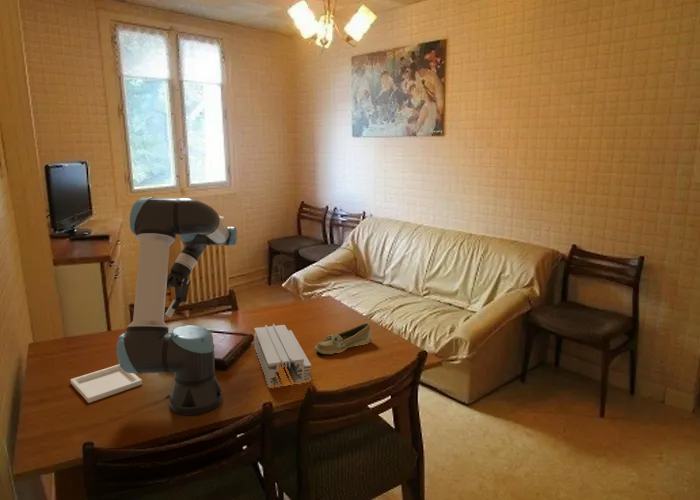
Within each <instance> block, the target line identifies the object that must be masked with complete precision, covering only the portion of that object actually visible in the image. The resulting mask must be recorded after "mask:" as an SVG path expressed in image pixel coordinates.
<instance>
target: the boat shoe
mask: <svg viewBox="0 0 700 500" xmlns="http://www.w3.org/2000/svg"><path fill="white" fill-rule="evenodd" d="M370 340H372V339H371V325H370V323H368V322H366V323H362V324H360V325H357V326H355V327H352V328H350V329H346V330H345V331H342V332H341V331H340V332H338V333H333V334H331V335H327V336H325V337H324V339H321V340H320V341H318V342H317V343H316V345H315V347H314V350H315V351H316V352H317V353H319V354H322V355H333V354H332V353H337V352H340V351H343V350H345V349H347V348H349V347H350V348H352V347H351V346H355V345H360V344H364V343H368V342H370ZM370 343H371V342H370ZM350 348H349V349H350ZM347 350H348V349H347Z"/></svg>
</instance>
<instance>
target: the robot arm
mask: <svg viewBox="0 0 700 500" xmlns="http://www.w3.org/2000/svg"><path fill="white" fill-rule="evenodd" d="M220 218H221V217H220V215H219V213H218V212H217V211H216V210H215V209H214V208H213V207H211V206H210V205H209V204H207V203H205V202H203V201H200V200H197V199H193V198H190V197H155V196H150V197H142V198H139V199H137V200H136V201H135V202H134V203H133V205H132V207H131V209H130V214H129V227H130V232H131V233H132V234H134V235H135V239H136V241H137V242H139V252H138V253H139V255H138V264H137V265H138V266H137V276H136V285H135V286H136V287H135V297H134V305H133V307H134V309H133V318H132V321H131V323H129V324H128V325H127V326H126V332H124V333H121V334H119V336H118V340H117V343H116V357H117V360H118V364H120V367H121V368H122V370H123V371H125V372H127V373H134V374H137V375H143V374H169V373H170V374H172V373H173V375H174V382H173V387H172V390H171V393H170V397H169V404H170V405H169V407H170V409H171V411H173V412H174V413H175V414H179V415H182V416H197V415H202V414H205V413H209V412H211V411H213V410H215V409H216V408H217V407H218V406H220V405H221V403H222V401H223V392H222V389H221V387H220V384H219V382H218V379H217V377H216V368H215V344H214V336H213V334H212V332H211V331H210V330H208V329H207V328H206V327H203V326H198V325H188V324H187V325H184V326H183V325H182V326H181V325H180V326H177V327H175V328H173V329H172V331H171V332H169V330H170V329H169V325H167V324H166V323H165V315H166V316H167V317H168V318H169V319H171V318H172V316H173V314H174V313H175V311H176V310H177V309H178V308H179V306H180V304H181V303H186V302H187V299H188V293H189V287H190V284H191V280H190V279H189V277H190V275H191V273H192V271H193V270H194V268H195V266H196V265H197V263H198V262H199V259H200V258H201V256H202V254H203V253H204V251H205V250H206V249H207V247H208V246H235V245H237V243H238V230H237V227H235V226H230V225H229V226H226V225H225V223H224V222H222V220H221V219H220ZM176 235H178V237H179V241H181V242H182V245H183V248H182V250H181V252H180V253H179V254H178V256H177V258H176V259H175V262H174V263H173V264H172V266H171V267H170V272H169V260H170V259H169V258H170V257H169V256H170V246H171V245H172V244H174V243H175V242H176ZM168 272H169V274H168ZM167 288H174V289H175V290H174V293H175V294H174V295H175V299H172V301H171V304H170V305H169V306H168V308H167V309H166V299H167V298H166V297H167ZM165 311H166V312H165Z"/></svg>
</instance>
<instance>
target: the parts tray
mask: <svg viewBox="0 0 700 500" xmlns="http://www.w3.org/2000/svg"><path fill="white" fill-rule="evenodd" d="M70 385H72V387H74V389H75V390H76V391H77V392H78V393H79V394H80V395H81V396H82V397H83V399H84V400H85V401H86V402H87V403H88V404H89V403H90V404H91V403H93V402H95V401H100V400H101V399H104V398H107V397H109V396H113V395H115V394H119V393H121V392H124V391H127V390H130V389H134V388H135V387H138V386H141V385H143V379H142V378H140V377H139V376H138V375H136V373H127V372H125V371H123V370H122V368H121V367H120V364H119V363H118V364H115V365H113V366H109V367H106V368H104V369H99V370H95V371H93V372H90V373H86V374H83V375H80V376H77V377H73V378H70Z"/></svg>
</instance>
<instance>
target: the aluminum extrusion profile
mask: <svg viewBox="0 0 700 500" xmlns="http://www.w3.org/2000/svg"><path fill="white" fill-rule="evenodd" d="M253 330H254V334H253V335H254V351H255V350H256V351H255V354H256V353H257V354H256V356H258V357H257V359H258V358H259V360H258V362H259V361H260V362H259V364H261V365H260V367H262V368H261V370H263V371H262V373H263V372H264V374H263V376H264V375H265V377H264V378H266V379H265V382H266V381H267V382H266V385H267V384H268V385H267V387H269V388H270V387H271V385H272V384H274V386H275V387H277V386H279V384H278V382H277V379H276V377H275V376H276V374H277V376H278V379H279V382H280V384H281V386H282V385H283V383H282V381H281V378H280V376H279V373H278V371H279V364H281V367H282V368H283V369H284V371H285V373H286V376H287V378H288V380H289V382H290V383H291V381H290V379H289V376H288V374H287V372H286V370H285V367H286V368H287V369H288V371H289V374H290V376H291V378H292V380H293V382H294V384H295V383H301V382H304V381H312V378H311V376H310V374H309V373H310V372H311V371H310V370H312V364H311V362H310V360H309V358H308V356H307V355H306V354H305V351H304V350H303V347H302V346H301V345H300V343H299V341H298V340H297V338H296V336H295V334H294V333H293V331H292V330H291V329H290V330H289V329H288V328H287V326H286V325H285V324H280V325H279V324H278V325H275V323H272V325H270V326H268V325H267V324H265V325H264V326H263V327H262V326H261V327H260V326H259V327H254V328H253ZM283 364H284V365H285V367H284V365H283ZM275 372H276V373H275ZM291 384H292V383H291ZM269 388H268V389H269Z"/></svg>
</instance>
